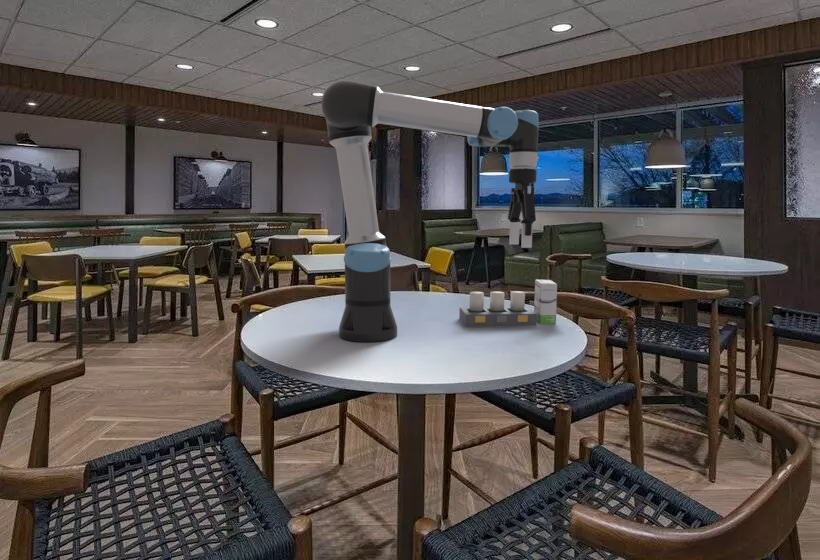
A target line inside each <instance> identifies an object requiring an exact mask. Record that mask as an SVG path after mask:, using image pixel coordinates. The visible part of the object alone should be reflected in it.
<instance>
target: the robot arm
mask: <svg viewBox="0 0 820 560" xmlns="http://www.w3.org/2000/svg"><path fill="white" fill-rule="evenodd" d="M321 111H322V114H323V116H324V119H325V122H326V127H327V135H328V143H329V144H330V145H331V146H332V147H333V148H335V152H336V156H337V158H336V159H337V164H338V165H337V166H338V171H339V177H340V185H341V186H340V187H341V192H342V199H343V205H344V213H345V219H346V225H347V226H346V227H347V232H348V233H347V234H348V236H347V238H346V239H345V241H344V243H343V244H344V249H345V250H344V255H343V262H344V287H345V289H344V290H345V291H344V296H345V297H344V298H345V299H344V302H345V306H344V309H343V314H342V316H341V320H340V323H339V327H338V337H339V338H340V339H342V340H346V341H351V342H360V343H372V342H373V343H375V342H383V341H388V340H391V339H392V340H393V339H394V338H396V337H397V336H398V325H397V322H396V321H397V320H396V318H395V316H394V312H393V309H392V307H391V261H392V256H391V251H390V248H389V247H388V246H387V240H386V239H387V238H386V236H385V235H383V234H382V233H381V232H380V230H379V229H380V228H379V221H378V220H379V219H378V214H377V207H376V206H377V205H376V200H375V199H376V198H375V191H374V184H373V177H372V169H371V163H370V157H369V155H370V154H369V147H368V145H369V143H370V141H371V140H372V139H373V138H372V130H371V128H374V127H375V126H376V125H378V124H379V125H380V124H381V125H389V126H394V127H401V128H402V127H403V128H407V129H408V128H409V129H414V130H415V129H416V130H421V131H422V130H423V131H430V132H436V133H443V134H451V135H458V136H464V137H466V139H467V143H468V145H469V146H471V147H479V148H480V147H504V148H505V147H506V148H507V147H509V159H508V160H509V161H508V162H509V163H508V166H509V168H511V169H510V170H508V182H509V184H515V186H514V187H511V192H510V193H511V194H510V199H509V200H510V202H509V206H508V207H509V209H508V215H507V220H509V238H508V239H509V240H508V244H509V245H519V244H520V241H521V245H520V247H521V248H522V249H523V248H524V249H532V247H533V228H534V227H533V224H534V222H536V221H537V217H536V206H535V195H534V193H535V191H534V190H535V186H534V185H531V184H535V183H536V182H537V174H538V173H537V171H538V170H537V169H536V167H537V166H538V165H537V164H538V160H539V156H538V143H539V131H540V130H539V129H540V127H539V126H540V125H539V123H540V122H539V113H538V112H537V111H535V110H530V109H521V110H520V109H519V110H513V109H512V108H510V107H508V106H500V107H499V106H498V107H496V108H493V107H485V106H480V105H479V106H478V105H474V104H465V103H461V102H460V103H459V102H454V101H446V100H441V99H440V100H439V99H433V98H428V97H421V96H414V95H408V94H403V93H402V94H400V93H396V92H388V91H383V90H381V88H380V87H379V86H377V85H371V84H366V83H360V82H356V81H349V80H340V81H337V82H333V83H332V84H330V85H329V86H328V87H327V88H326V89H325V91H324V93H323V95H322V98H321ZM520 216H522V219H521V218H520ZM520 223H521V224H520ZM520 225H521V239H520Z"/></svg>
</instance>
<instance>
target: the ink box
mask: <svg viewBox="0 0 820 560" xmlns="http://www.w3.org/2000/svg"><path fill="white" fill-rule="evenodd" d="M557 296H558V284H557V283H556V282H554V281H553V280H552V279H535V280H534V302H533V306H534V307H533V312H535V313H536V314H537V319H536V322H537V323H538V324H542V325H543V324H544V325H545V324H547V325H549V324H550V325H554V324H555V325H556V324H557V304H558V302H557V301H558V299H557Z"/></svg>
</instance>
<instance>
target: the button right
mask: <svg viewBox="0 0 820 560" xmlns="http://www.w3.org/2000/svg"><path fill="white" fill-rule="evenodd" d="M525 299H526V292H525V291H518V290H514V291H513V290H512V291H510V309H511V310H515V311H523V310H524V306H526V305H525V301H526V300H525Z"/></svg>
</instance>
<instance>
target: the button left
mask: <svg viewBox="0 0 820 560" xmlns="http://www.w3.org/2000/svg"><path fill="white" fill-rule="evenodd" d="M484 294H485V293H484V292H483V291H470V292H469V307H470V308H469V310H471V311H483V307H485V306H484V302H485V301H484V300H485V299H484V298H485V295H484Z"/></svg>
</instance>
